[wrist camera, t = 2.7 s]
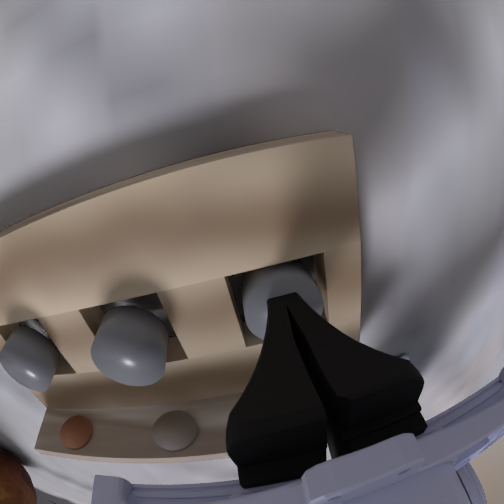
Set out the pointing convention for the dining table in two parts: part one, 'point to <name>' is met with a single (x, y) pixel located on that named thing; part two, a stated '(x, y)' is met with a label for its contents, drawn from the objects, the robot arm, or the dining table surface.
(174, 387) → the button board
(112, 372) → the button middle
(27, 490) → the butternut squash
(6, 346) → the button end
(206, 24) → the dining table surface
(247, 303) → the button end
